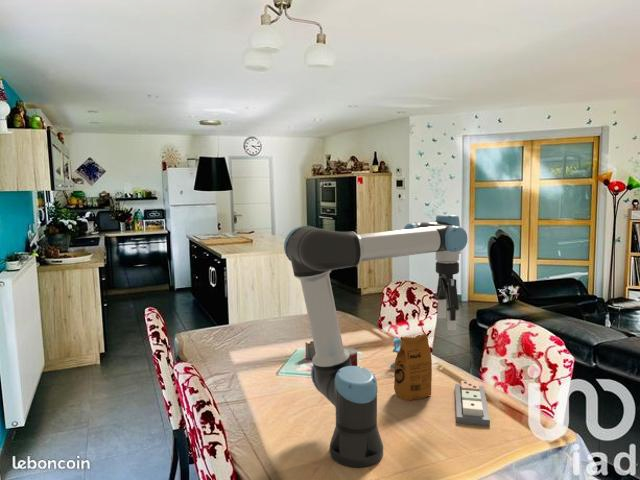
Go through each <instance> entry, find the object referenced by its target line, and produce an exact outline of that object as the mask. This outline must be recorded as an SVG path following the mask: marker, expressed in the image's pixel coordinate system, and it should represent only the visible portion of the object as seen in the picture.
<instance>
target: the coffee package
mask: <svg viewBox="0 0 640 480" xmlns="http://www.w3.org/2000/svg"><path fill="white" fill-rule="evenodd" d="M400 339H401V340H402V341H401V342H402V344H400V346H401V347H400V350H399V352H398V354H397V353H396V357H395V360H394V363H395V365H394V366H395V368H394V371H393V372H394V374H393V375H394V376H393V377H394V379H393V380H394V381H393V383H394V384H393V389H394V392H395V394H396V395H397V396H398V397H399V398H400V399H402V400H403V401H405V402H409V401H413V400H416V399H417V400H422V399H425V398H427V397H429V396H431V395H432V381H433V378H432V375H433V373H432V372H433V368H432V367H433V366H432V365H433V364H432V352H431V347H430V343H429V339H428V335H427V333H425V332H424V333H422V334H420V335H418V336H415V337H411V336H409V337H408V336H401V337H400Z"/></svg>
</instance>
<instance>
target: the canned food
mask: <svg viewBox="0 0 640 480" xmlns="http://www.w3.org/2000/svg"><path fill="white" fill-rule="evenodd" d="M343 348H344V349H346V350H348V351H349V353H350V358H351V363H352V366H358V350H357V349H355V348H353V347H343Z"/></svg>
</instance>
